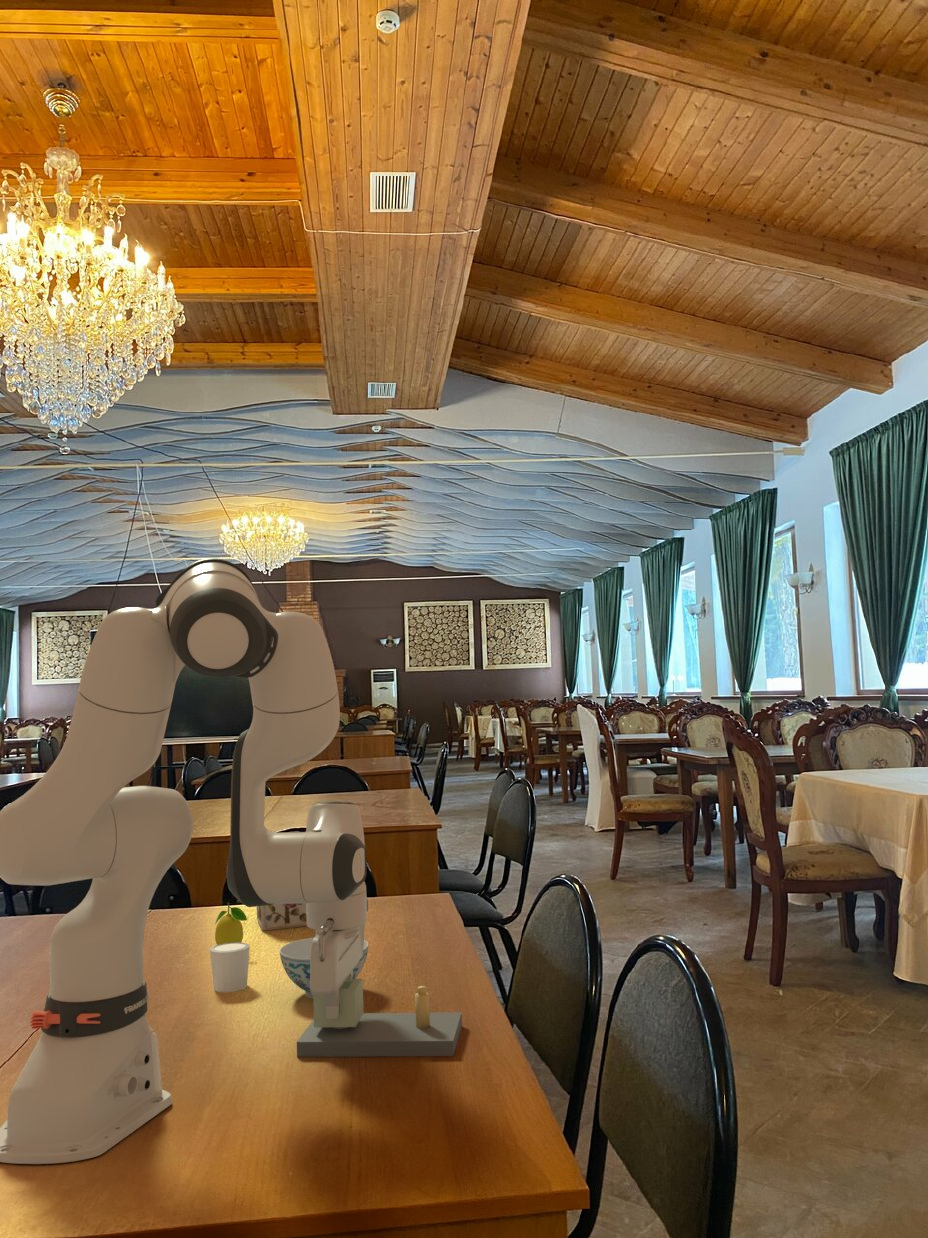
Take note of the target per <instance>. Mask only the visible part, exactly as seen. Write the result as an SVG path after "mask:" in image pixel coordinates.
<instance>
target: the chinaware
mask: <svg viewBox="0 0 928 1238" xmlns="http://www.w3.org/2000/svg"><path fill="white" fill-rule="evenodd" d="M313 939H314V937H309V938H303V939H302V938H301V939H299V940H294V941H292V942H288V943H287V944H285V945H282V947H280V949H279V957H280V961H281V964H282V967H283V969H284V971H285V973H286V975H287V976H288V978H289V979H290V980H291V982H292V983H293V984H295V985H296V986H297V987H298V988H300V989H301V990H303V991H304V992H305V996H306V997H307V998H309V999H313V995H312V993H311V989H310V954H311V944H312V941H313ZM368 952H369V942H368V941H367V940H365V939H364V947H363V953H362V957H361V959H360V960H359V962H358V963H357V965H356V966H355V967H354V969H353V977H352V979H357V977H359V974H360V973H361V972H362V970H363V967H364V966H365V963H366V959H367V957H368ZM313 1000H314V999H313Z"/></svg>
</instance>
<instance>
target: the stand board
mask: <svg viewBox="0 0 928 1238" xmlns="http://www.w3.org/2000/svg"><path fill="white" fill-rule="evenodd" d="M414 998H415V999H414V1002H415V1004H414V1005H415V1012H373V1013H372V1012H370V1013H369V1012H367V1013H366V1012H365V1013H364V1012H363V1015H362V1017H361V1018H360V1020H359V1022H358V1024H357V1025H356V1027H314V1019H313V1020H311V1022H310V1024H309V1025H308V1026H307V1027H306V1029H305V1030H304V1031H303V1033H302V1034H301V1036H300V1037H299V1038H298V1040H297V1041H296V1057H297V1058H315V1057H316V1058H321V1057H322V1058H325V1057H327V1058H329V1057H331V1058H332V1057H333V1058H337V1057H342V1058H344V1057H345V1058H347V1057H349V1058H350V1057H352V1058H353V1057H354V1058H355V1057H359V1058H360V1057H361V1058H362V1057H454V1056H455V1053H456V1050H457V1049H456V1048H457V1047H458V1046H457V1045H458V1042H459V1038H460V1035H461V1032H462V1027H463V1016H462V1015H463V1014H462V1013H463V1012H462V1011H461V1012H460V1011H459V1012H456V1011H455V1012H449V1011H448V1012H446V1011H445V1012H444V1011H443V1012H430V994H429V992H427V987H426V985H419V986H417V992H416V993H415V994H414Z"/></svg>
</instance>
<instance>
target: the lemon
mask: <svg viewBox="0 0 928 1238" xmlns="http://www.w3.org/2000/svg"><path fill="white" fill-rule="evenodd" d="M226 913H227V914H226ZM241 921H244V922H245V921H248V917H247V916H246V914H245V912H244V911H243V910H242V909H241V908H240V907H237V906H234V907H230V902H227V910H222V911H220V912H219V914H218V916H217V918H216V920H215V923H214V925H216V927H215V932H214V935H215V936H214V939H215V944H216V945H220V944H225V943H243V938H244V929H243V928H244V927H243V924H242V922H241Z"/></svg>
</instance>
